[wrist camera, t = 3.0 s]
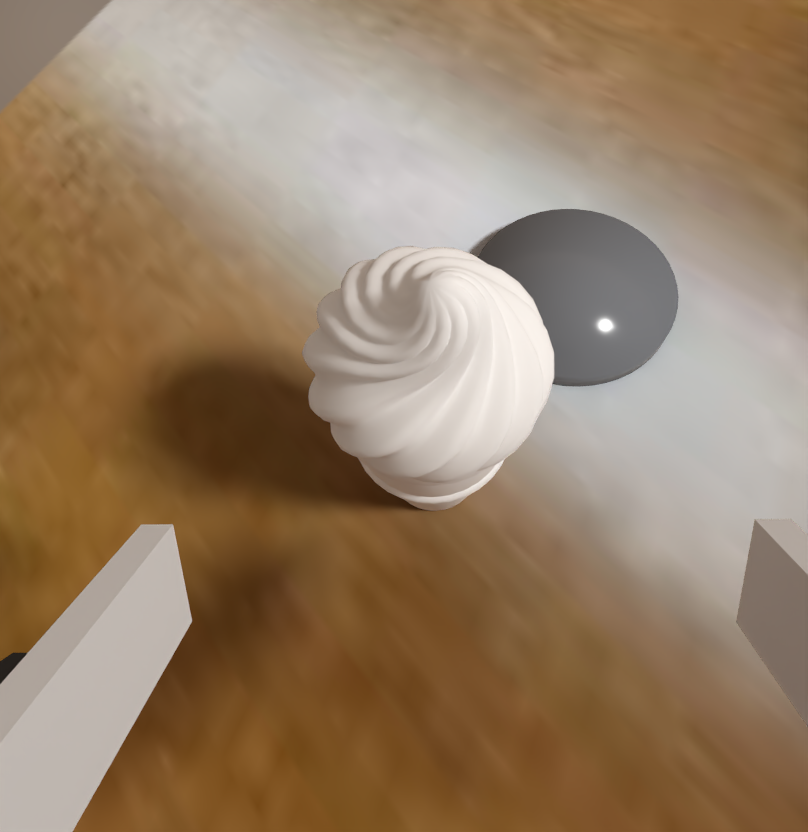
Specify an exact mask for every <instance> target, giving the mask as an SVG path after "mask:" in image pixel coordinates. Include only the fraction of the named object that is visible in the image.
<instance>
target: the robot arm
mask: <svg viewBox="0 0 808 832" xmlns="http://www.w3.org/2000/svg"><path fill="white" fill-rule="evenodd" d="M191 622H192V618H191V613H190V608H189V603H188V598H187V593H186V588H185V582H184V577H183V572H182V567H181V562H180V557H179V552H178V547H177V542H176V537H175V532H174V527H173V524H170V525H141V526H140V527H139V528H138V529H137V530H136V531H135V532H134V533H133V535H132V536H131V537H130V538H129V539H128V540H127V541H126V542H125V544H124V545H123V546H122V547H121V548H120V549H119V550H118V552H117V553H116V554H115V555H114V556H113V557H112V558H111V559H110V561H109V562H108V563H107V564H106V565H105V566H104V567H103V569H102V570H101V571H100V572H99V573H98V574H97V575H96V576H95V578H94V579H93V580H92V581H91V582H90V583H89V584H88V585H87V587H86V588H85V589H84V590H83V591H82V592H81V593H80V595H79V596H78V597H77V598H76V599H75V600H74V601H73V602H72V604H71V605H70V606H69V607H68V608H67V609H66V610H65V612H64V613H63V614H62V615H61V616H60V617H59V618H58V619H57V621H56V622H55V623H54V624H53V625H52V626H51V627H50V629H49V630H48V631H47V632H46V633H45V634H44V635H43V636H42V638H41V639H40V640H39V641H38V642H37V643H36V644H35V645H34V647H33V648H32V649H31V650H30V651H29V652H28V653H12V654H11V655H9V656H8V657H6V658H5V659H3V660H2V661H0V832H72V831H73V830H74V828H75V826H76V824H77V823H78V821H79V819H80V817H81V816H82V814H83V812H84V810H85V809H86V807H87V805H88V803H89V802H90V800H91V798H92V796H93V795H94V793H95V791H96V789H97V788H98V786H99V784H100V782H101V780H102V779H103V777H104V775H105V773H106V772H107V770H108V768H109V766H110V765H111V763H112V761H113V759H114V758H115V756H116V754H117V752H118V751H119V749H120V747H121V745H122V744H123V742H124V740H125V738H126V737H127V735H128V733H129V731H130V730H131V728H132V726H133V724H134V723H135V721H136V719H137V717H138V715H139V714H140V712H141V710H142V708H143V707H144V705H145V703H146V701H147V700H148V698H149V696H150V694H151V693H152V691H153V689H154V687H155V686H156V684H157V682H158V680H159V679H160V677H161V675H162V673H163V672H164V670H165V668H166V666H167V665H168V663H169V661H170V659H171V658H172V656H173V654H174V652H175V651H176V649H177V647H178V645H179V643H180V642H181V640H182V638H183V636H184V635H185V633H186V631H187V629H188V628H189V626H190V624H191ZM736 623H737V624H738V625H739V627H740V628H741V630H742V631H743V633H744V634H745V636H746V637H747V639H748V640H749V642H750V643H751V644H752V646H753V647H754V649H755V650H756V652H757V653H758V655H759V656H760V658H761V659H762V661H763V662H764V664H765V665H766V666H767V668H768V669H769V671H770V672H771V674H772V675H773V677H774V678H775V680H776V681H777V683H778V684H779V685H780V687H781V688H782V690H783V691H784V693H785V694H786V696H787V697H788V699H789V700H790V702H791V703H792V704H793V706H794V707H795V709H796V710H797V712H798V713H799V715H800V716H801V718H802V719H803V721H804V722H805V723H806V725H807V726H808V534H807V533H805V532H804V531H803V530H802V529H801V528H800V527H799V526H798V525H797V524H796V523H795V522H794V521H793V520H792V519H755V521H754V527H753V532H752V538H751V543H750V549H749V554H748V560H747V565H746V571H745V576H744V582H743V587H742V593H741V598H740V604H739V609H738V615H737V620H736Z"/></svg>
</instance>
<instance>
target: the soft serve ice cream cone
mask: <svg viewBox="0 0 808 832" xmlns="http://www.w3.org/2000/svg"><path fill="white" fill-rule="evenodd" d="M317 320H318V323H319V326H320V328H318V329H317V330H316V331H315V332H314V333H312V334H311V335H310V336H309V338H308V339H307V341H306V343H305V346H304V348H303V351H302V354H303V357H304V360H305V362H306V364H307V365H308V367H309V368H310V369H311V370H312V371H313V372H314V373H315V377H314V379H313V381H312V383H311V385H310V387H309V394H308V399H309V406H310V408H311V409H312V410H313V412H314V413H315V414H316V415H318V416H319V417H320V418H321V419H323V420H324V421H327V422H330V426H331V433H332V436H333V438H334V440H335V441H336V443H337V444H338V446H339V447H340V448H341V450H343V451H345V452H347V453H349V454H350V455H352V456H355V457H357V458H358V459H359V461H360V463H361V464H362V466H363V468H364V470H365V471H366V473H367V474H368V475H369V476H370V477H371V478H372V479H373V480H374V482H375V483H377V484H378V485H379V486H381V487H382V488H383V489H385V490H386V491H387V492H389V493H391V494H393V495H395V496H397V497H399V498H401V499H404V500H405V501H407V502H408V503H410V504H411V505H413V506H415V507H417V508H420V509H424V510H430V511H438V510H445V509H448V508H451V507H453V506H455V505H457V504H459V503H460V502H461V501H463V500H464V499H465V498H466V497H467V496H468V495H470V494H471V493H473V492H475V491H477V490H478V489H480V488H481V487H482V486H484V485H485V484H486V483H487V482H488V481H489V480H490V479H492V478H493V476H494V475H495V474H496V472H497V471H498V470H499V468H500V467H501V465H502V463H503V461H504V459H505V458H506V457H508V456H509V455H511V454H512V453H513V452H515V451H516V450H517V449H518V447H519V446H520V445H521V444H522V443H523V441H524V440H525V439H526V438H527V437H528V435H529V434H530V433H531V431H532V429H533V426H534V424H535V422H536V419H537V418H538V416H539V414H540V413H541V411H542V409H543V407H544V406H545V404H546V402H547V401H548V397H549V394H550V390H551V387H552V383H553V380H554V351H553V348H552V344H551V341H550V338H549V335H548V332H547V329H546V328H545V326H544V325H543V320H542V318H541V316H540V314H539V311H538V309H537V307H536V304H535V302H534V300H533V299H532V297H531V296H530V295H529V294H528V292H527V291H526V290H525V289H524V288H523V286H522V285H521V284H520V283H519V282H518V281H517V280H515V279H514V278H512V277H511V276H510V275H508V274H507V273H506V272H504V271H503V270H501V269H499V268H496V267H494V266H491V265H489V264H487V263H485V262H484V261H482V260H480V259H479V258H477V257H476V256H474V255H473V254H471V253H467V252H464V251H461V250H458V249H455V248H445V247H434V248H429V249H423V248H419V247H414V246H407V247H396V248H394V249H391V250H388V251H386V252H384V253H383V254H381V255H380V256H379V257H378V258H377V259H373V260H365V261H362V262H358V263H356V264H355V265H353V266H352V267H350V268H349V269H348V271H347V273H346V274H345V276H344V278H343V280H342V283H341V288H340V289H338V290H335V291H333V292H331V293H329V294H328V295H326V296H325V297H324V298H323V299H322V300H321V302H320V303H319V304H318V308H317Z"/></svg>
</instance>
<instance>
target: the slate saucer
mask: <svg viewBox="0 0 808 832" xmlns="http://www.w3.org/2000/svg"><path fill="white" fill-rule="evenodd" d="M478 258H479V259H480V260H482V261H484V262H485V263H487V264H489V265H491V266H494V267H496V268H499V269H501V270H503V271H504V272H506V273H507V274H508V275H510V276H511V277H512V278H514V279H515V280H517V281H518V282H519V283H520V284H521V285H522V286H523V288H524V289H525V290H526V291H527V292H528V294H529V295H530V296H531V297H532V299H533V300H534V302H535V304H536V307H537V309H538V311H539V314H540V316H541V318H542V320H543V325H544V326H545V328H546V329H547V332H548V335H549V338H550V341H551V344H552V348H553V351H554V380H553V383H552V384H558V385H565V386H589V385H597V384H602V383H607V382H610V381H613V380H616V379H619V378H621V377H624V376H626V375H628V374H630V373H632V372H633V371H635V370H637V369H638V368H640V367H641V366H642V365H644V364H645V363H646V362H647V361H648V360H649V359H651V358H652V356H653V355H654V354H655V353H656V352H657V351H658V349H659V348H660V346H661V345H662V343H663V341H664V340H665V338H666V336H667V335H668V333H669V332H670V330H671V328H672V325H673V323H674V320H675V317H676V313H677V309H678V290H677V284H676V280H675V276H674V273H673V271H672V269H671V267H670V264H669V263H668V261H667V259H666V258H665V256H664V255H663V253H662V252H661V251H660V250H659V248H658V247H657V246H656V245H655V244H654V243H653V242H652V241H651V240H650V239H649V238H648V237H647V236H645V235H644V234H643V233H641V232H640V231H638V230H637V229H635V228H634V227H632V226H630V225H629V224H627V223H625V222H623V221H621V220H618V219H616V218H614V217H611V216H608V215H605V214H601V213H597V212H592V211H586V210H578V209H560V210H550V211H544V212H539V213H536V214H532V215H529V216H526V217H524V218H521V219H519V220H517V221H515V222H513V223H511V224H510V225H508V226H506V227H505V228H504V229H502V230H501V231H499V232H498V233H497V234H496V235H495V236H494V237H493V238H492V239H491V240H490V241H489V242H488V243H487V245H486V246H485V247H484V248H483V250H482V252H481V253H480V255H479V257H478Z"/></svg>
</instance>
